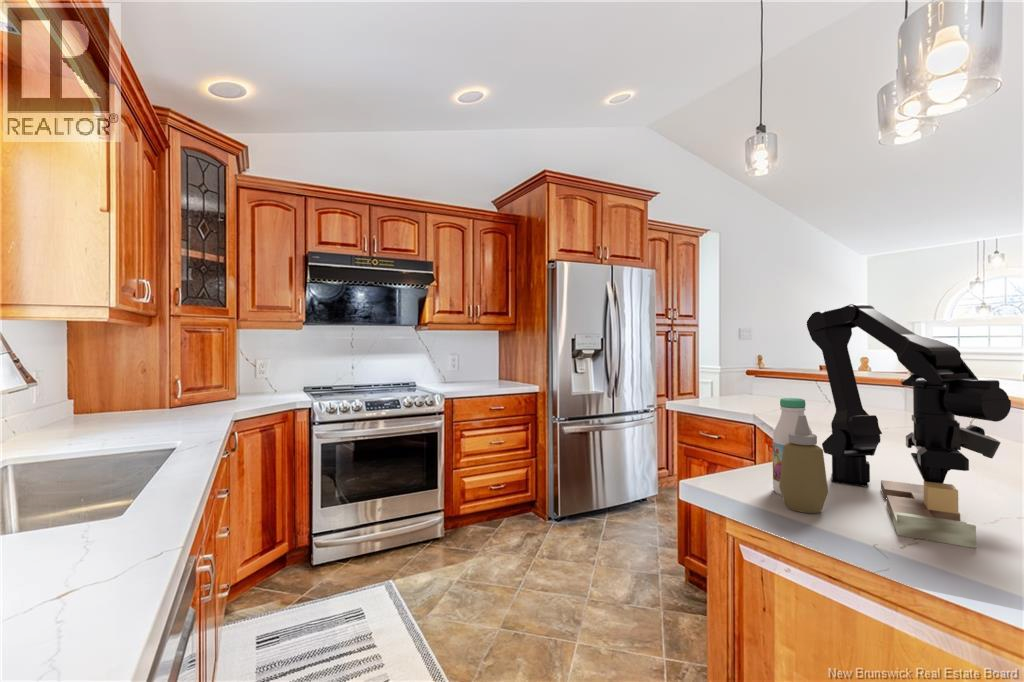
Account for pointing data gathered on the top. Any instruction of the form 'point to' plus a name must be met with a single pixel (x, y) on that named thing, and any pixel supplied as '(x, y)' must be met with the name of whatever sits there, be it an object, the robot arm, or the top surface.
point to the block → (941, 497)
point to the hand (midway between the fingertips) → (934, 495)
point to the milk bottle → (785, 433)
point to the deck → (924, 516)
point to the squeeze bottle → (803, 471)
